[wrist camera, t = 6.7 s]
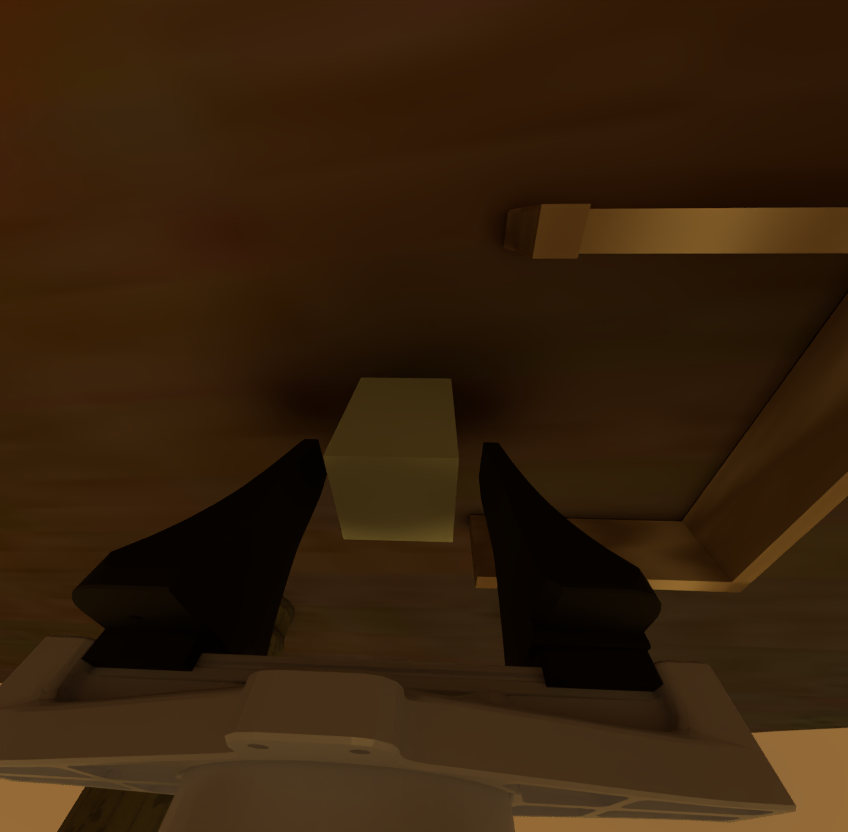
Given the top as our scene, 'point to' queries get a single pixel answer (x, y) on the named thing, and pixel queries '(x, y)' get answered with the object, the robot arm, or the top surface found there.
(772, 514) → the open crate
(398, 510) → the sage block
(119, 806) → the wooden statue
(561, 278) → the top surface
